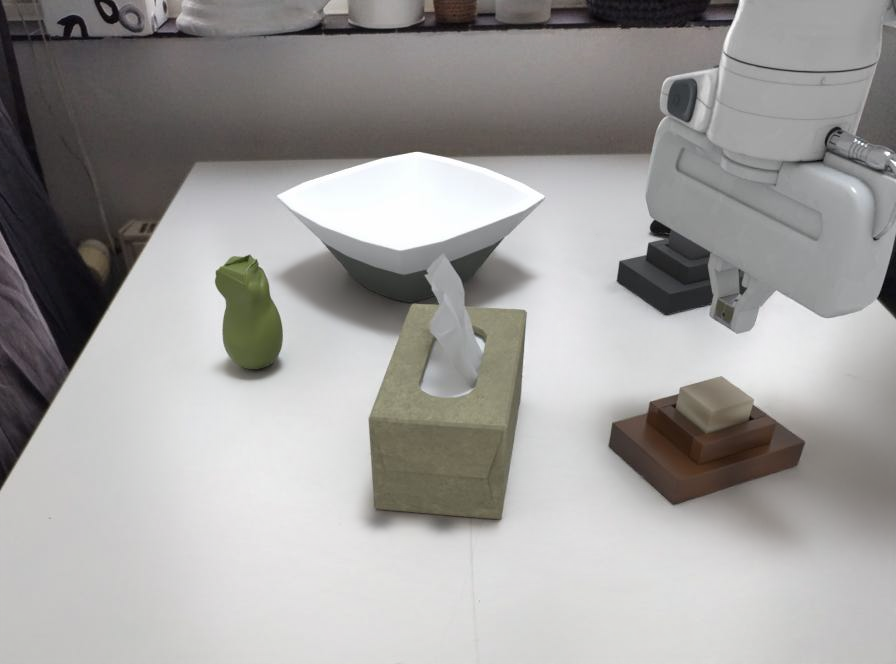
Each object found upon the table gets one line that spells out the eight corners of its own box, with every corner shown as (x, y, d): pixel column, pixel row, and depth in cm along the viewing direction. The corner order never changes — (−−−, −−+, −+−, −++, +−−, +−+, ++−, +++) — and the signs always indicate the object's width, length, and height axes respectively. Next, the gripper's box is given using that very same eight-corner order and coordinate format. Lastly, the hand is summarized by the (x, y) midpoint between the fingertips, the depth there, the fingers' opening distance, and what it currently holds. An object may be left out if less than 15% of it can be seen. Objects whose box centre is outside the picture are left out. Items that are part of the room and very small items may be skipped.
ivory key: (715, 398, 72) (721, 375, 70) (748, 422, 69) (754, 399, 68) (674, 410, 71) (679, 386, 69) (706, 435, 68) (711, 411, 66)
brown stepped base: (726, 411, 77) (737, 369, 74) (797, 465, 71) (812, 421, 68) (608, 445, 74) (615, 402, 71) (673, 504, 68) (683, 460, 65)
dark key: (698, 241, 94) (702, 221, 92) (722, 255, 91) (727, 235, 90) (667, 248, 93) (670, 228, 91) (690, 263, 90) (694, 242, 89)
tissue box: (413, 387, 81) (409, 204, 70) (521, 394, 80) (534, 209, 68) (373, 512, 68) (359, 313, 57) (500, 523, 67) (513, 321, 55)
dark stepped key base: (707, 260, 99) (715, 223, 96) (761, 291, 93) (771, 253, 90) (616, 281, 96) (621, 243, 93) (665, 315, 90) (673, 276, 87)
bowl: (267, 276, 98) (256, 195, 92) (422, 221, 109) (421, 145, 103) (398, 345, 86) (395, 258, 80) (557, 276, 97) (565, 194, 91)
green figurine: (297, 360, 85) (284, 254, 78) (261, 385, 82) (244, 276, 74) (252, 346, 87) (236, 241, 80) (215, 369, 84) (195, 262, 77)
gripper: (958, 150, 49) (869, 380, 59) (723, 65, 62) (682, 264, 72) (870, 167, 47) (793, 401, 57) (647, 76, 60) (616, 278, 70)
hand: (730, 324), depth 64 cm, fingers closed
